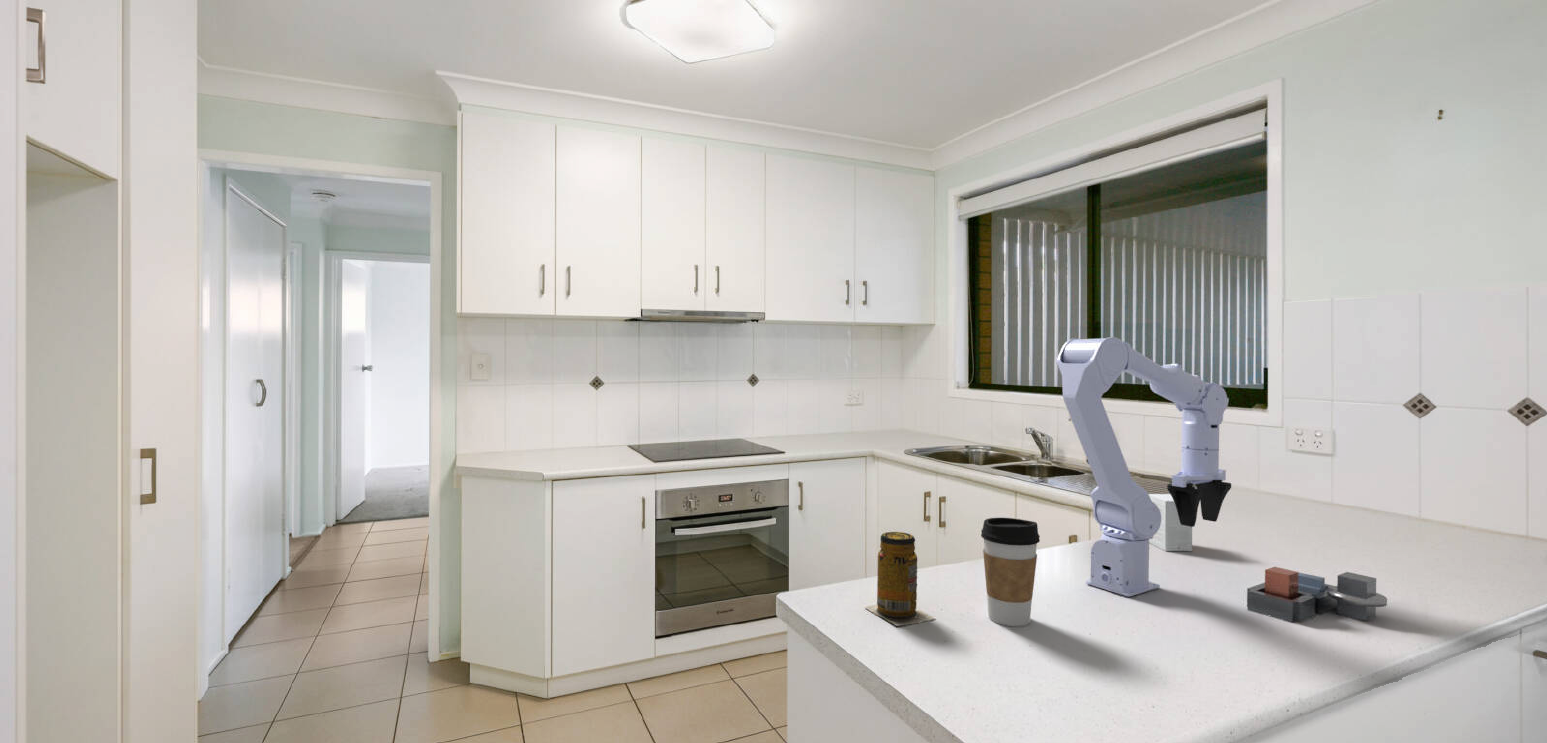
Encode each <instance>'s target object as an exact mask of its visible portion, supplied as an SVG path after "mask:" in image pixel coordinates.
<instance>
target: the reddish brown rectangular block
mask: <svg viewBox="0 0 1547 743" xmlns="http://www.w3.org/2000/svg"><path fill="white" fill-rule="evenodd" d="M1298 572H1299V571H1295V570H1291V569H1287V568H1282V567H1279V566H1278V567H1277V566H1272V567H1269V568H1266V569H1265V570H1264V583H1265V593H1266V594H1270V595H1274V596H1278V597H1282V598H1285V599H1289V600H1293V599H1296V598H1298Z"/></svg>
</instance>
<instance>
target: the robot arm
mask: <svg viewBox="0 0 1547 743" xmlns="http://www.w3.org/2000/svg"><path fill="white" fill-rule="evenodd" d="M1056 365H1057V366H1058V369H1059V371H1060V374H1061V383H1062V398H1063V402H1064V404H1065V407H1066V409H1067V412H1068V414H1069V416H1070V419H1071V422H1072V424H1073V426H1074V427H1073V428H1074V429H1075V433H1076V435H1077V437H1078V440H1079V442H1080V444H1081V446H1082V450H1083V452H1084V454H1085V457H1086V460H1087V462H1088V465H1089V468H1090V469H1091V472H1092V475H1093V477H1094V480H1095V483H1096V485H1097V486H1096V487H1095V488H1093V490H1092V491H1091V493H1090V498H1091V500H1092V514H1093V518H1094V520H1095V522H1096V523H1098V524H1099V530H1100V531H1102V533H1101V534H1102V535H1101V538H1100V539H1099V540H1096V541H1095V542H1094V543H1093V544H1092V546H1091V550H1090V578H1089V579H1087V580H1086V581H1085V584H1087V585H1089V586H1093V587H1097V588H1100V589H1103V590H1106V591H1109V592H1112V593H1114V594H1118V595H1121V596H1125V597H1132V596H1137V595H1139V594H1142V593H1146V592H1149V591H1153V590H1156V589H1159V588H1160V587H1161V584H1158V583H1155V582H1152V581H1149V578H1150V573H1149V572H1150V571H1149V569H1150V543H1149V539H1153V536H1154V535H1155V534H1156V533H1157V531H1158V530H1159V528H1160V525H1161V512H1160V510H1159V508H1158V506H1157V505H1156V504H1154V503H1153V502H1152V501H1151V499H1150V497H1149V494H1150V493H1149V492H1148V491H1146V489H1144V488H1143V487H1142V486H1140V485H1139V484H1138V483H1137V482H1136V481H1134V480H1133V478H1132V476H1131V475H1132V474H1131V473H1130V471H1129V468H1128V465H1127V462H1126V460H1125V458H1124V455H1123V452H1122V449H1121V447H1120V444H1119V441H1118V439H1117V436H1116V434H1115V432H1114V428H1113V426H1112V424H1111V421H1110V419H1109V416H1108V414H1107V410H1106V408H1105V405H1104V403H1103V401H1102V396H1103V395H1104V393H1106V392H1108V391H1109V389H1110V388H1111V387H1112V386H1113V385H1114V383H1115V382H1116V380H1117V379H1118V378H1119V377H1120V375H1121V374H1122V372H1124V373H1127V374H1129V375H1131V376H1133V377H1136V378H1138V379H1140V380H1143V381H1146V382H1147V383H1149V388H1150V390H1151V391H1152V392H1153V393H1154V394H1157V395H1158V396H1161V397H1162V398H1164V399H1166V400H1168V401H1170V402H1173V404H1174V405H1175V407H1176V409H1177V411H1179V412H1182V413H1181V414H1182V415H1181V416H1182V417H1181V463H1180V464H1181V466H1180V467H1181V469H1180V470H1179V471H1177V473H1175V474H1172V476H1171V483H1168V484H1166V489H1167V491H1168V494H1171V496H1172V498H1173V500H1174V503H1175V505H1176V509H1177V512H1178V516H1179V520H1180V523H1181V525H1185V526H1190V527H1192V528H1194V527H1195V526H1196V522H1197V518H1198V517H1197V516H1198V509H1199V505H1200V512H1201V513H1200V514H1201V517H1202V520H1203V521H1209V522H1217V520H1218V518H1219V515H1220V511H1221V509H1222V506H1223V502H1224V500H1225V498H1226V495H1227V494H1228V493H1229V491H1230V490H1231V489H1232V483H1231V482H1226V481H1227V480H1226V477H1227V470H1226V469H1221V468H1220V469H1219V466H1220V463H1219V461H1220V425H1222V423H1223V421H1224V412H1225V411H1226V409H1227V408H1228V406H1229V400H1230V398H1229V397H1228V395H1227V392H1226V390H1225V388H1223V387H1222V386H1221V385H1220V384H1218V383H1216V382H1205V381H1204V380H1203V379H1202V378H1201V376H1200V375H1198V374H1192V373H1190V372H1188V371H1186V370H1183V368H1184V367H1183V365H1181V364H1179V363H1170V364H1169V363H1167V364H1163V365H1160V364H1159V363H1156V361H1154V360H1152V359H1151V358H1148V357H1147V356H1146V355H1144V354H1142V353H1141V352H1139V351H1137V350H1135V348H1133V347H1132V345H1131V343H1129V342H1127V341H1123V340H1122V339H1120V338H1119V337H1115V336H1109V337H1108V336H1107V337H1105V338H1083V339H1081V338H1071V339H1069V340H1067V341H1065V343H1064V344H1063V345H1062V347H1061V348H1060V352H1058V356H1057V358H1056ZM1194 485H1195V486H1194Z"/></svg>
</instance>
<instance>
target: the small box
mask: <svg viewBox="0 0 1547 743" xmlns="http://www.w3.org/2000/svg"><path fill="white" fill-rule="evenodd" d="M1148 494H1149V497H1150V499H1151V501H1152V502H1153V503H1154V504H1156V505H1157V506H1158V508H1159V510H1160V512H1161V525H1160V528H1159V530H1158V531H1157V533H1156V534H1155V535H1154V536H1153V539H1149V545H1152V546H1155V547H1156V548H1158V549H1161V550H1162V551H1165V552H1192V551H1193V527H1190V526H1185V525H1181V523H1180V520H1179V516H1178V512H1177V509H1176V505H1175V503H1174V500H1173V498H1172V496H1171V494H1170V493H1148Z"/></svg>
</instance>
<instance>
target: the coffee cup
mask: <svg viewBox="0 0 1547 743" xmlns="http://www.w3.org/2000/svg"><path fill="white" fill-rule="evenodd" d="M1038 529H1039V528H1038V523H1037V522H1036V521H1032V520H1028V519H1027V520H1026V519H1021V518H1013V517H990V518H986V519H984V521H983V525H982V529H981V531H980V532H981V535H980V537H981V538H982V539H983V544H984V545H983V549H982V552H983V564H984V565H983V566H984V576H985V586H986V588H985V590H986V596H987V597H986V599H987V612H988V618H989V619H990V620H991V621H992V622H994V623H996V624H998V625H1001V626H1005V627H1006V626H1008V627H1024V626H1027V625H1029V624H1030V622H1031V613H1032V601H1033V594H1034V585H1035V578H1036V568H1037V560H1038V554H1037V544H1039V543H1040V541H1041V539H1040V534H1039V530H1038Z"/></svg>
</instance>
